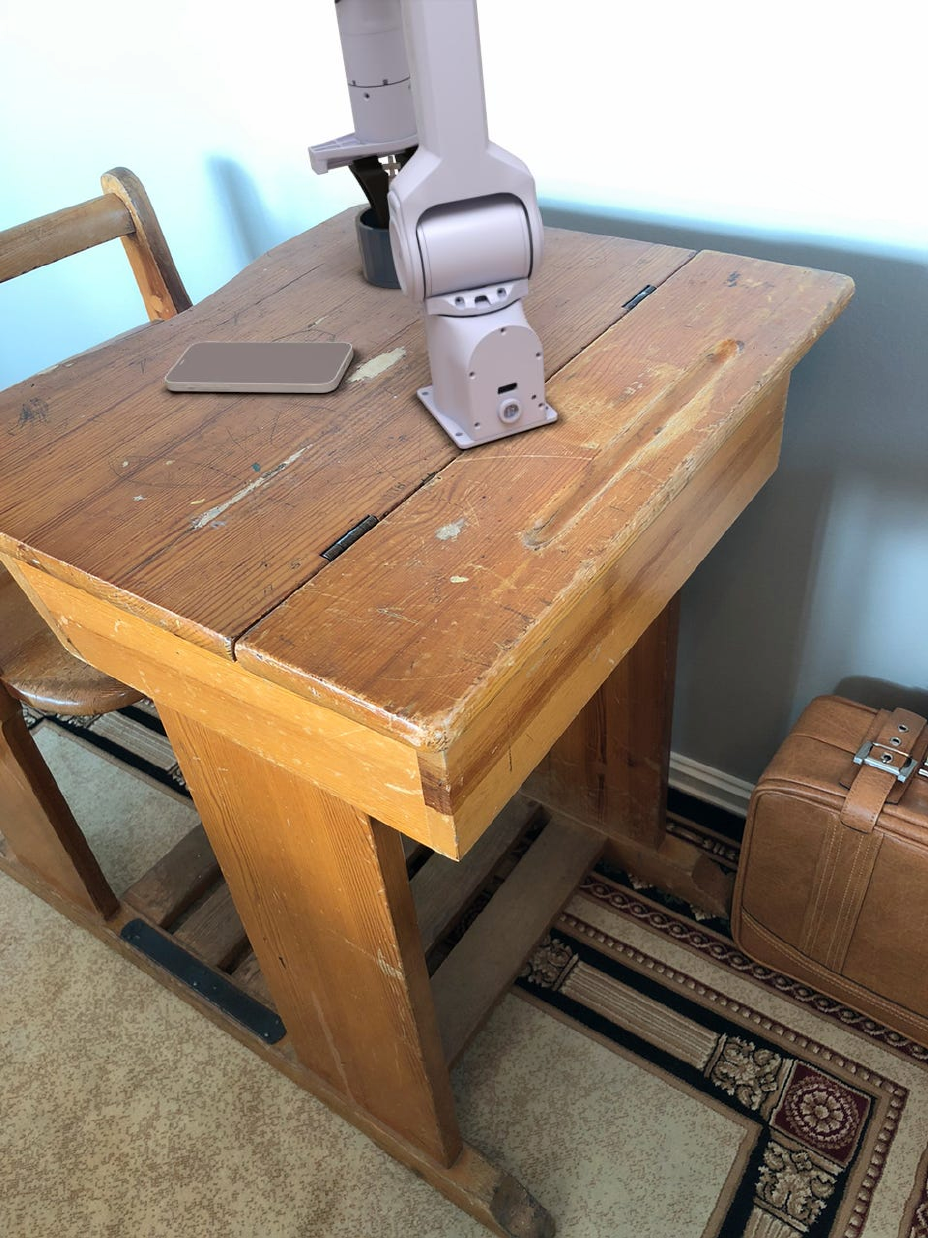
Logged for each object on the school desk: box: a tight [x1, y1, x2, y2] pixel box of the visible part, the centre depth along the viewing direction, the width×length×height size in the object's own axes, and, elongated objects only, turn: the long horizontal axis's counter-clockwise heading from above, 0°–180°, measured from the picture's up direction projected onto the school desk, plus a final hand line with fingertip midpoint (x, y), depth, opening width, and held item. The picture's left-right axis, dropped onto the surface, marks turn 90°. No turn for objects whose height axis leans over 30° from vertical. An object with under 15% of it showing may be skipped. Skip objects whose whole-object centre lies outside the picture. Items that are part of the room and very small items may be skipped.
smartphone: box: [164, 341, 355, 394], centre depth 82 cm, size 7×1×15 cm
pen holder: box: [354, 205, 401, 289], centre depth 94 cm, size 8×8×6 cm
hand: (401, 234), depth 94 cm, fingers closed
